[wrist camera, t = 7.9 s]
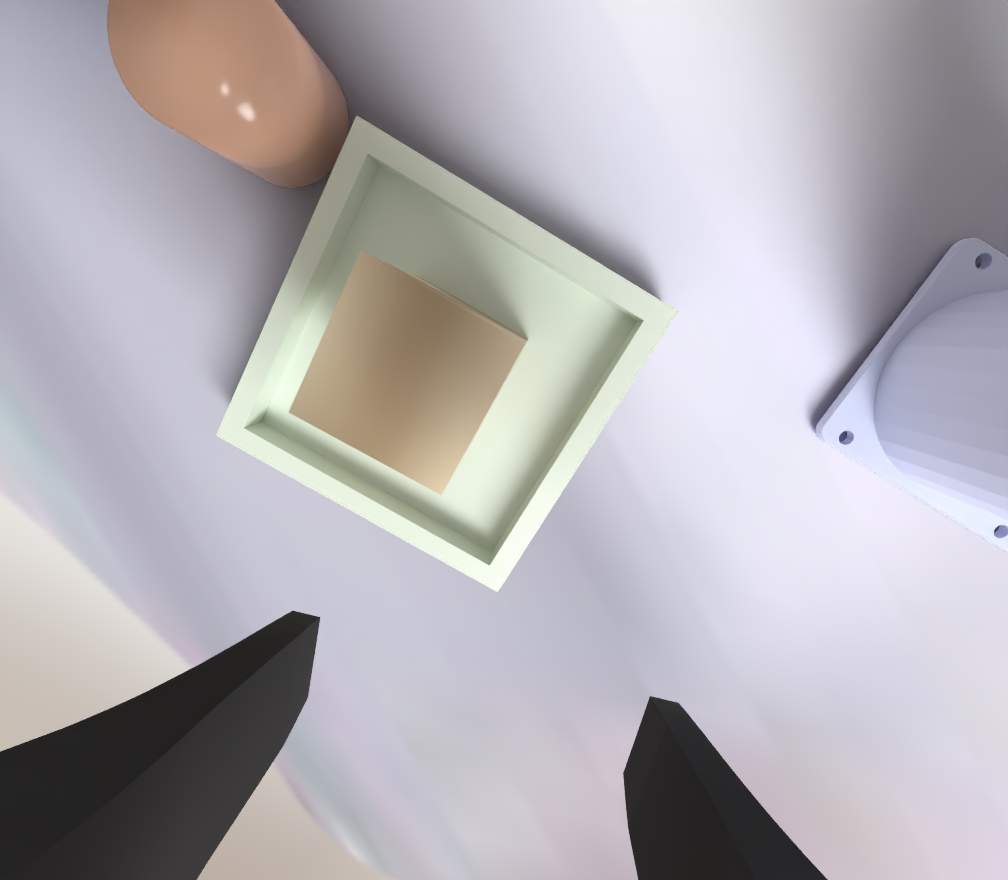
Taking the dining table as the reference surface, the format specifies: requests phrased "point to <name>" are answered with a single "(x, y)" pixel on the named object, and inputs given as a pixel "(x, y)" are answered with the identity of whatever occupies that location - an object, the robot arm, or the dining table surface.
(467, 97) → the dining table surface
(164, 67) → the peach rounded cylinder
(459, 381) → the maple block
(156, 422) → the dining table surface
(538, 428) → the tray
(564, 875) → the dining table surface
